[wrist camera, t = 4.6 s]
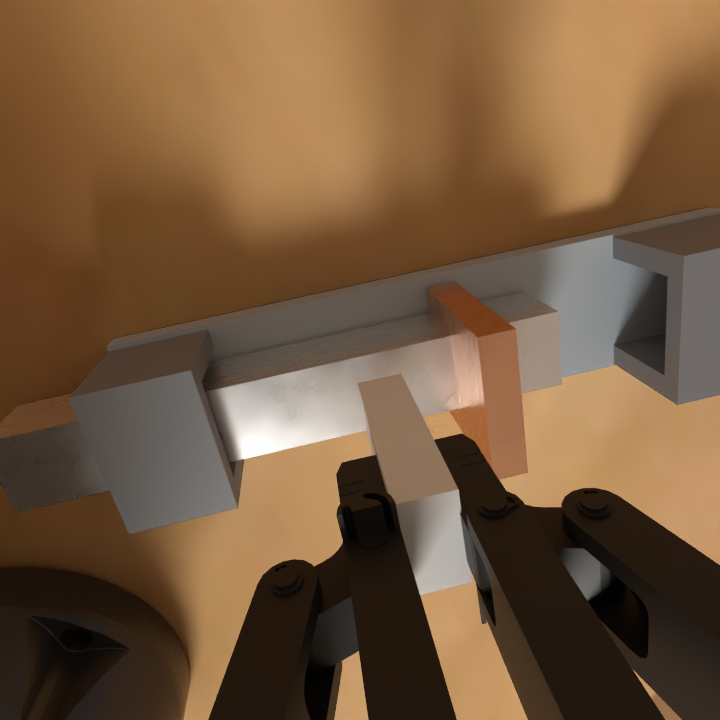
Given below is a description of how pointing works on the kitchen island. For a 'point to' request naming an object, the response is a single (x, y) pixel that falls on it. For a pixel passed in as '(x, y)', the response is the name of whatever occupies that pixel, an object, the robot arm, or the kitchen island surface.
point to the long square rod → (329, 392)
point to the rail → (394, 302)
